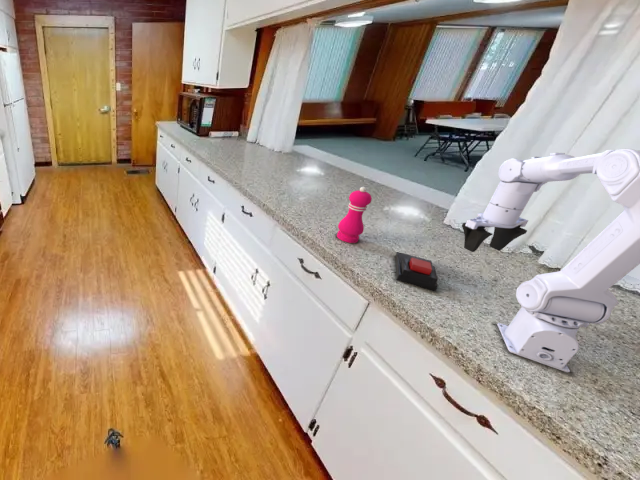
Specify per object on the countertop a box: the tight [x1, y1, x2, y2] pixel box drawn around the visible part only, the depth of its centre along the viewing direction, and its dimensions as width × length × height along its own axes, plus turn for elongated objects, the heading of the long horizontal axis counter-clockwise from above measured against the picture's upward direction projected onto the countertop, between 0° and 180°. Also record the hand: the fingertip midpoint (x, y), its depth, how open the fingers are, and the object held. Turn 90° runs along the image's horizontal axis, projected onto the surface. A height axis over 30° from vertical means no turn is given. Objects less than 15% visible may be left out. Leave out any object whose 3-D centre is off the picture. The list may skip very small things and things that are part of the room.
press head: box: [409, 258, 432, 275], centre depth 83 cm, size 4×4×2 cm
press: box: [394, 251, 439, 292], centre depth 86 cm, size 14×8×4 cm, turn 142°
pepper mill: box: [336, 186, 373, 244], centre depth 101 cm, size 7×7×20 cm
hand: (482, 249), depth 81 cm, fingers open, 7 cm apart
